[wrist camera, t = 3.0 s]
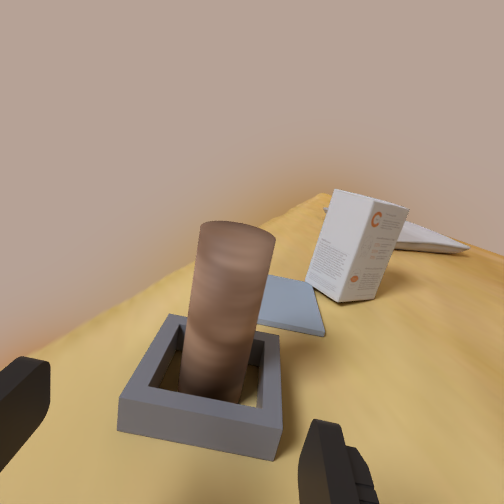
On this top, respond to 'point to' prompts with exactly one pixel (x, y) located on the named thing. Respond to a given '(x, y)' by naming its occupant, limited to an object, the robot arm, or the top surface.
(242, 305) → the plug
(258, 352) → the socket
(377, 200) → the small box
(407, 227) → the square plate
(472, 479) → the top surface
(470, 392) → the top surface
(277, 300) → the mat
